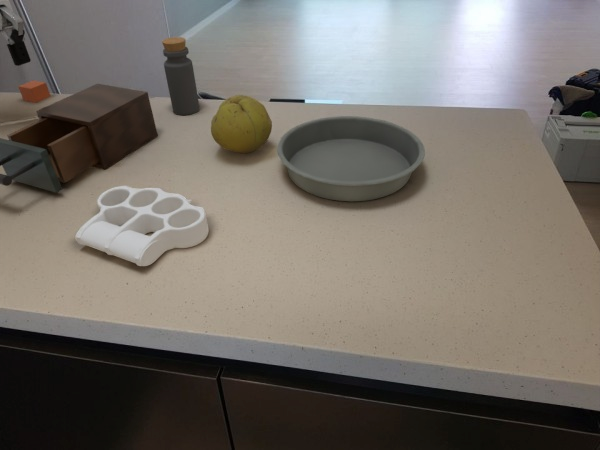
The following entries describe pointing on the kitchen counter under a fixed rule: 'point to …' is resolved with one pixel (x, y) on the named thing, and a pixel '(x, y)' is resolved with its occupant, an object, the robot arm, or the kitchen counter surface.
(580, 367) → the kitchen counter surface
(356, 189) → the cake pan
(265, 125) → the fruit
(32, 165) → the drawer
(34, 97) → the block
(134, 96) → the cabinet
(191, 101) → the bottle
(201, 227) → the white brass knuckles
